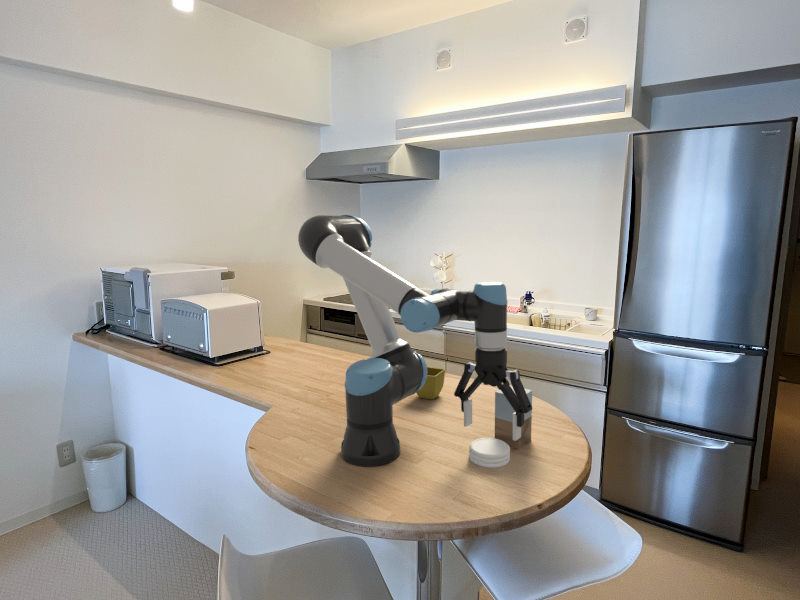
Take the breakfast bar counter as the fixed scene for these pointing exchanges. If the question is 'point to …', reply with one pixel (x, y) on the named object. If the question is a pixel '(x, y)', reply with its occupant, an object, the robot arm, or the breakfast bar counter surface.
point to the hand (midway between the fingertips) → (491, 431)
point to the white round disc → (489, 452)
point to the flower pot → (432, 383)
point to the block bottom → (506, 432)
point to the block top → (508, 406)
